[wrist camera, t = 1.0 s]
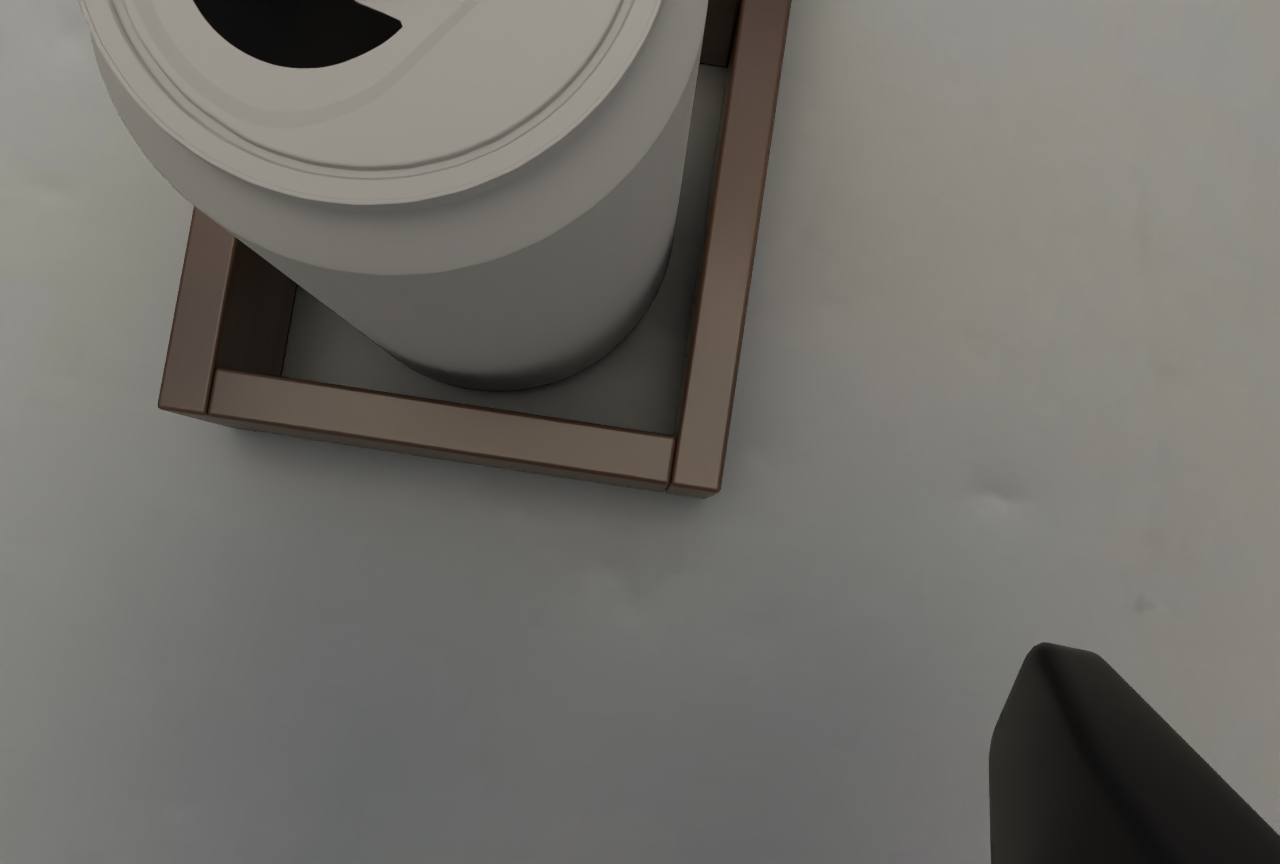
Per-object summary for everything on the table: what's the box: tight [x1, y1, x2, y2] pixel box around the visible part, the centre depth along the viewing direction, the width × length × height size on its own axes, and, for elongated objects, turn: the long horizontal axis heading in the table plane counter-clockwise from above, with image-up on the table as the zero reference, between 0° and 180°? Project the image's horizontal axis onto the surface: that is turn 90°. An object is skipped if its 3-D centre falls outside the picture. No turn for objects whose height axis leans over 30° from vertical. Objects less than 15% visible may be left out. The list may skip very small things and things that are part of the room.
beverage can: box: [78, 0, 708, 391], centre depth 17 cm, size 6×6×12 cm
